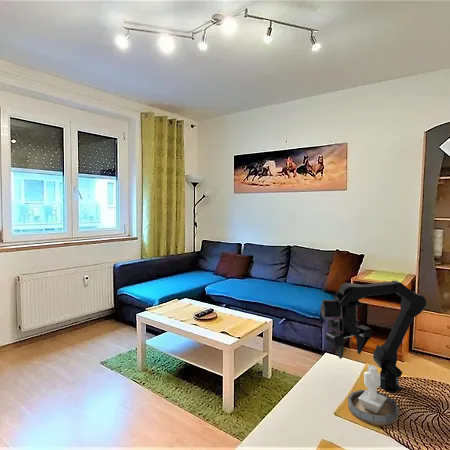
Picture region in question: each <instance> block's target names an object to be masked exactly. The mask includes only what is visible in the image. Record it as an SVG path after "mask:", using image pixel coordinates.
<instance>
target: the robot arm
mask: <svg viewBox="0 0 450 450" xmlns="http://www.w3.org/2000/svg"><path fill="white" fill-rule="evenodd" d="M387 294H396V295H398V296H399V297H400V298H401V301H400V311H399V314H398V315H397V318H396V320H395V322H394V324H393V326H392V328H391V330H390V332H389V334H388V336H387V338H386V340H385V342H384V343H383V344H382V345H380V344H377V345H376V346H375V349H374V351H373V352H372V355H373V356H372V359H373V361H374V363H375V364H376V366H378V367H379V368H380V372H379V374H380V387H379V388H381V389H383V390H385V391H386V392H388V393H394V392H397V391H401V390H402V389H403V387H402V386H400V384H399V381H400V380H399V378H401V377H402V374H403V370H401V369H400V368H399V367H398V365H397V364H398V363H397V362H398V350H399V348H400V347H401V344H402V342H403V341H404V338H405V336H406V334H407V332H408V330H409V328H410V326H411V325H412V322H413V320H414V318H416V317H417V316H418V315H420V314H422V312H423V310H424V309H425V308H426V306H427V300H426V298H425V297H424V296H423V295H421V294H419V293H418V292H415V291H412V290H411V289H410V288H408V287H407V286H406V285H405V284H404V283H403V282H401V281H398V280H392V281H384V282H377V283H367V284H366V283H365V284H359V283H352V282H345V283H341V285H340V286H339V288H338V291H337V293H336V294H335V296H334V297H333V299H322V300H321V304H320V313H321V317H322V318H323V319H326V318H327V319H328V320H327V326H328V329H332V330H333V331H330V332H327V333H325V340H326V341H327V342H329V343H331V344H332V345H333V347H334V348H335V349H334V350H335V351H336V353H337V357H338V359H339V360H341V359H342V358H343V355H344V350H345V343H344V342H345V339H346V338H347V339H348V338H352V337H355V340H356V352H357V354H358V355H361V353H362V351H363V349H364V348H365V346H366V344H367V343H368V341H369V340H370V339H371V338H372V337H373V336H374V334H373V333H374V332H373V330H372V328H371V327H368V326H366V325H363V324H360V320H359V319H358V307H362V306H364V305H363V303H362V302H360V301H359V300H362V299H363V298H365V297H369V296H370V297H371V296H379V295H387ZM329 318H332V319H329ZM333 318H338V320H335V319H333ZM358 324H360V325H358ZM334 330H337V332H336V331H334ZM339 332H341V333H339Z"/></svg>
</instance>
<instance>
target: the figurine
mask: <svg viewBox="0 0 450 450" xmlns="http://www.w3.org/2000/svg"><path fill="white" fill-rule="evenodd" d="M363 381H364V382H363V383H364V386H365V387H366V388H367V389H365V390H366V391H365V392H364V393H363V394H362V395H361V396H360V397H359V398H358V399H359V401H360V402H361V404H362V406H363V407H364V408H365V409H367V410H370V411H372V412H375V413H378V411H379V410H380V409H381V408H382V406H383V404H384V402H385V401H386V399H387V397H385V396H383V395H380V394H377V392H378V388H381V387H380V372H378V367H377V365H373V364H367V370H366V371H364V373H363Z"/></svg>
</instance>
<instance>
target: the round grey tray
mask: <svg viewBox="0 0 450 450" xmlns="http://www.w3.org/2000/svg"><path fill="white" fill-rule="evenodd" d="M366 390H367V389H360V390H355V391H353V392H351V393H350V394H349V396H348V397H347V402H348V404H349V407H350V410H351V411H352V412H353V413H355V414H356V415H357V416H358V417H360V418H362V419H365V420H368V421H371V422H374V423H389V422H391V421H394V420H396V419H397V417H398V414H400V413H399V412H400V411H399V410H400V408H399V407H400V406H399V405H398V404H397V402H396V400H395V399H393V398H392V397H389V396H388V395H387V394H385V393H382V392H379V391H377V394H380V395H383V396H385V397H387V399H386V401H385V402H387V403H389V404H390V405H392V406H393V408H394V410H395V411H394V413H391V414H388V415H386V416H383V415H372V414H369V413H366V412H363V411H361V410H359V409H358V408H357V407H355V406H354V405H353V403H352V401H353V399H355V398H358V397H360V396H361V395H362V394H363V393H364V392H365V391H366ZM350 410H349V411H350Z"/></svg>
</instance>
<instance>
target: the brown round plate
mask: <svg viewBox="0 0 450 450" xmlns="http://www.w3.org/2000/svg"><path fill="white" fill-rule="evenodd" d="M358 398H359V397H358ZM358 398H355V399H353V401H352V403H353V405H354V406H355V407H357V408H358V409H359V410H361V411H363V412H366V413H369V414H372V415H383V416H386V415H388V414H391V413H394V411H395V410H394V408H393V406H392V405H390V404H389V403H387V402H384V404H383V406H382V408H381V409H380V410H379V411H378V413H375V412H372V411H370V410H367V409H365V408H364V407H363V406H362V404H361V402H360V401H359V399H358ZM348 410H349V412H350V413H351V414H352V416H353V417H355V418H356V419H357V420H359V421H362V422H364V423H366V424H369V425H373V426H391V425H394V424H395V423H397V421H399V417H400V416H399V414H400V413H399V414H398V417H397V419H396V420H394V421H391V422H389V423H374V422H371V421H368V420H365V419H362V418H360V417H358V416H357V415H356V414H355V413H353V412H352V411H351V410H350V407H349V404H348Z"/></svg>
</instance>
